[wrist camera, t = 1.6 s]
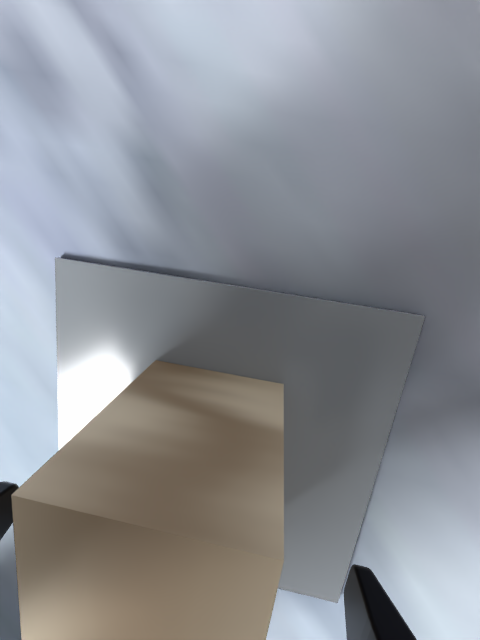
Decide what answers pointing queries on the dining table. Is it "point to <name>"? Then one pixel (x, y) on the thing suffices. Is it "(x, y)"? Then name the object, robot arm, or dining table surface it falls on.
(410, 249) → the dining table surface
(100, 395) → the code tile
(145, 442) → the maple block
